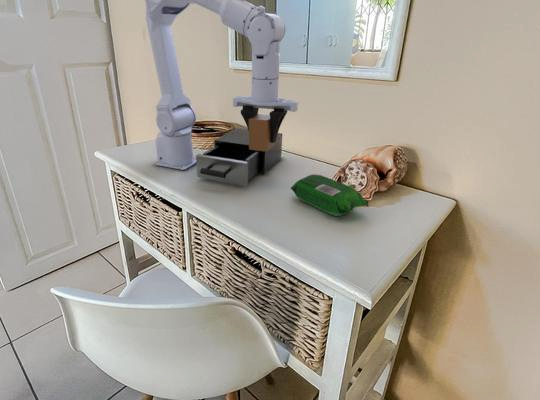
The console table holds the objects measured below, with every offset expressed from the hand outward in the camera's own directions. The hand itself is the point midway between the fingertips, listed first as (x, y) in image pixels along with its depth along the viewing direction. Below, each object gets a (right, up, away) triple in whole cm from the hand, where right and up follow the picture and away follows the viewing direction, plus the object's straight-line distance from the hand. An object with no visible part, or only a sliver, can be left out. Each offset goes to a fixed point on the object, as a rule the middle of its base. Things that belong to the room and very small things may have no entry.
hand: (263, 140), depth 77 cm
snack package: (+12, -15, -7) cm, 21 cm away
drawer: (-8, -8, +6) cm, 13 cm away
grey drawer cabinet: (-2, -3, +17) cm, 17 cm away
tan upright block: (0, -2, 0) cm, 2 cm away
